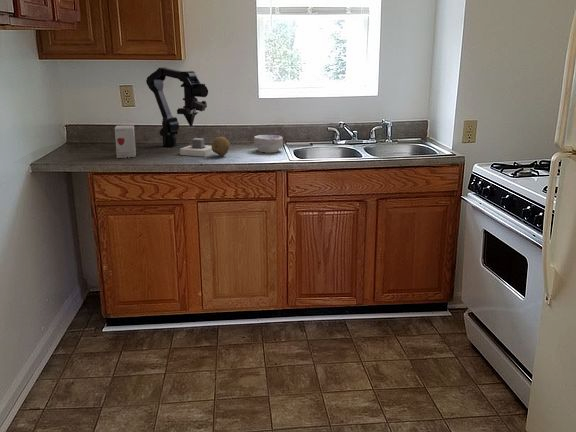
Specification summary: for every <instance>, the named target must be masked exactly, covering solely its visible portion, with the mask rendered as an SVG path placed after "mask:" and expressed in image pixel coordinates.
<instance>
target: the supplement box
mask: <svg viewBox="0 0 576 432" xmlns="http://www.w3.org/2000/svg"><path fill="white" fill-rule="evenodd" d="M135 134H136V132H135V125H134V124H133V125H127V124H126V125H115V127H114V137H115V150H116V159H123V158H124V159H126V158H127V157H128V158H127V159H129V158H130V157H135V158H136V156H137V151H136V136H135Z"/></svg>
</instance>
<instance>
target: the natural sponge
mask: <svg viewBox="0 0 576 432" xmlns="http://www.w3.org/2000/svg"><path fill="white" fill-rule="evenodd" d="M230 145H231V143H230V140H229V139H227V138H226V137H225V136H218V137H216V138H214V140H213V141H212V144H211V146H212V151H213V152H215V153H214V154H217V155H218V156H219V157H224V156H226V154H227V153H229V148H230Z"/></svg>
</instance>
